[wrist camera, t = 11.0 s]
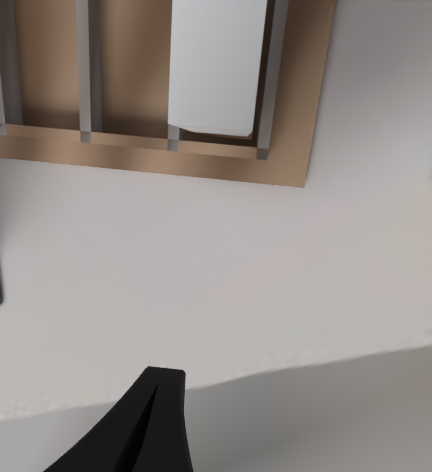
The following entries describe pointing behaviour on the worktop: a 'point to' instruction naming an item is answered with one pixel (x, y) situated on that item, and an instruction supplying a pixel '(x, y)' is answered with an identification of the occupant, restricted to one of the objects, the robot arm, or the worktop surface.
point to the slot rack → (151, 90)
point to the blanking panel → (215, 65)
